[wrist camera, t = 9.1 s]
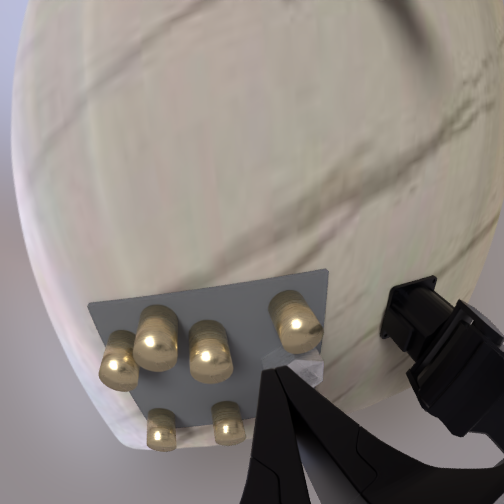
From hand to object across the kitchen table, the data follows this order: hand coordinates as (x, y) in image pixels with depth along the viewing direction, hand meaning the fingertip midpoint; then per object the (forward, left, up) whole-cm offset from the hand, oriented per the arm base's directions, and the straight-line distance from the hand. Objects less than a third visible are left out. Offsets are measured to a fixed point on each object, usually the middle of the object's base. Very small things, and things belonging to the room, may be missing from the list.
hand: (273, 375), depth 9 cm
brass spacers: (+3, +12, -12) cm, 17 cm away
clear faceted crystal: (-4, +13, -12) cm, 18 cm away
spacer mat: (+2, +12, -12) cm, 17 cm away
